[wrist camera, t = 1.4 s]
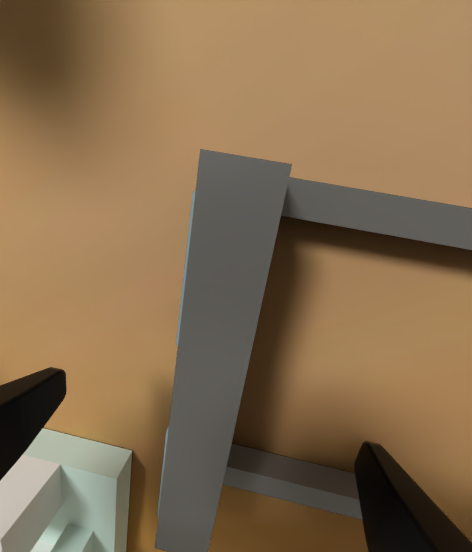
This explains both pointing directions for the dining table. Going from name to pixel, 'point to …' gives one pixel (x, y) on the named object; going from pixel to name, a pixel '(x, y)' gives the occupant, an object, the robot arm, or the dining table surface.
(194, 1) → the dining table surface
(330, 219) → the sunglasses
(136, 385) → the dining table surface
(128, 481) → the mint stepped display stand
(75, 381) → the dining table surface
